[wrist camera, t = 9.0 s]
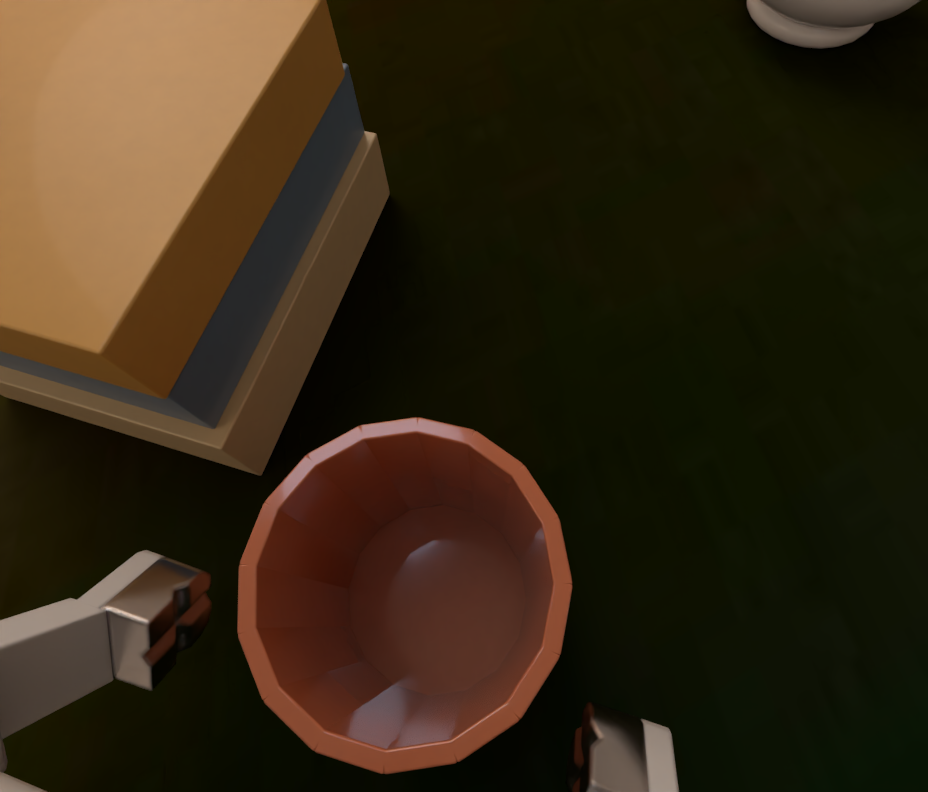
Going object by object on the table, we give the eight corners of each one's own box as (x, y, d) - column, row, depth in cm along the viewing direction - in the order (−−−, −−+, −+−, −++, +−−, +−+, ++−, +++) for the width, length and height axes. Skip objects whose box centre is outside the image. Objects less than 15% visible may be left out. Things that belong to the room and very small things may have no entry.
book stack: (390, 193, 24) (343, -21, 16) (262, 476, 19) (103, 372, 11) (174, 146, 25) (33, -70, 18) (6, 397, 21) (-292, 257, 13)
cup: (471, 467, 19) (462, 368, 12) (572, 632, 17) (639, 639, 9) (312, 560, 18) (191, 516, 11) (397, 748, 16) (321, 857, 8)
